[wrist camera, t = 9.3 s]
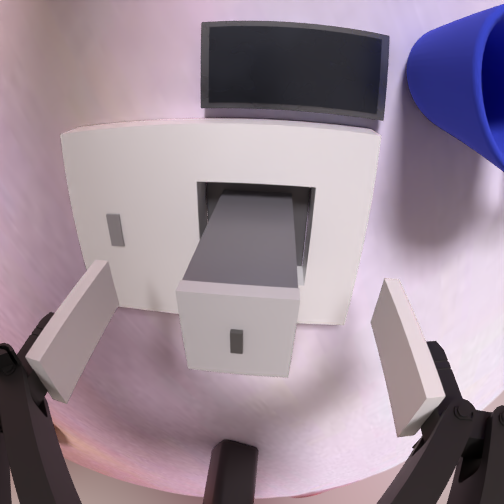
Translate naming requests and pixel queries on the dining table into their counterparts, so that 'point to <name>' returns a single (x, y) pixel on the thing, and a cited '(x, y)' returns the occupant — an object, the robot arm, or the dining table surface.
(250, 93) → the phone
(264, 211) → the plug
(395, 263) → the dining table surface
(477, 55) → the mug
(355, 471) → the dining table surface
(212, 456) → the wine bottle
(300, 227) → the cabinet panel
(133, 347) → the dining table surface
